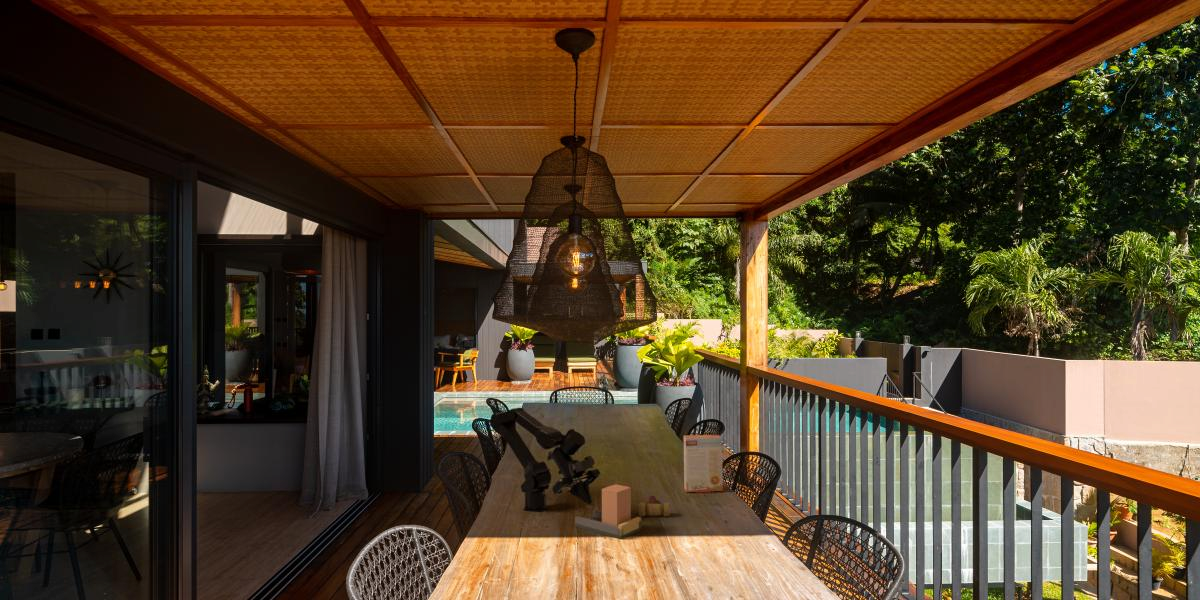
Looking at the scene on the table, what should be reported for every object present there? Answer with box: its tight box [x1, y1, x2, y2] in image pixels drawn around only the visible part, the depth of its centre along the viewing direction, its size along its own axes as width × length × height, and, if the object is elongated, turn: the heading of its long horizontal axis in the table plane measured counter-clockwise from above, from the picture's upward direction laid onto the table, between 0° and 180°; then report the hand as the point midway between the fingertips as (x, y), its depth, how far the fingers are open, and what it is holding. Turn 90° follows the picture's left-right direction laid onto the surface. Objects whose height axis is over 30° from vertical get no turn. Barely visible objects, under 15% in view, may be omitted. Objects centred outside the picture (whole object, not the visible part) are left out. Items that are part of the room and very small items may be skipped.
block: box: [601, 484, 632, 527], centre depth 202 cm, size 6×7×12 cm
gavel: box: [638, 495, 671, 517], centre depth 226 cm, size 21×5×10 cm
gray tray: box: [574, 508, 642, 540], centre depth 204 cm, size 18×10×4 cm, turn 51°
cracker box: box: [683, 434, 724, 493], centre depth 247 cm, size 14×6×21 cm, turn 92°
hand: (590, 503), depth 209 cm, fingers closed
